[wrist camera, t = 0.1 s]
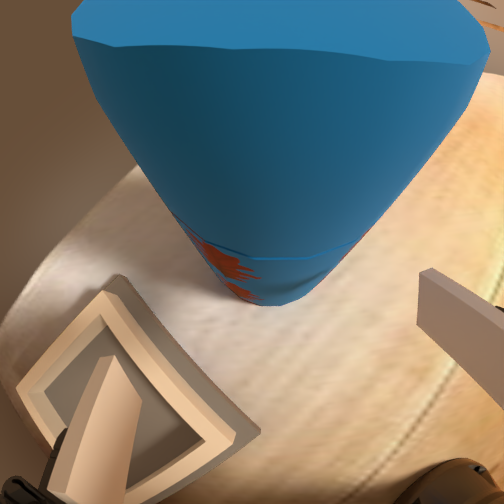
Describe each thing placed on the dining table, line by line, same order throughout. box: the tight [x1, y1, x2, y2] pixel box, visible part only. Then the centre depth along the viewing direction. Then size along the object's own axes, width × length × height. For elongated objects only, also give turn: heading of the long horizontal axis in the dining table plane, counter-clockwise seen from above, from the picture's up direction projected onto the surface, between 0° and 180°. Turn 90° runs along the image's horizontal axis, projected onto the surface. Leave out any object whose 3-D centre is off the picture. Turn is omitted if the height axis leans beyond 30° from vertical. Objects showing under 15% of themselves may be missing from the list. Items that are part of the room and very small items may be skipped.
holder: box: [16, 274, 261, 504], centre depth 22 cm, size 20×20×4 cm
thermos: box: [71, 0, 491, 306], centre depth 16 cm, size 11×11×25 cm
